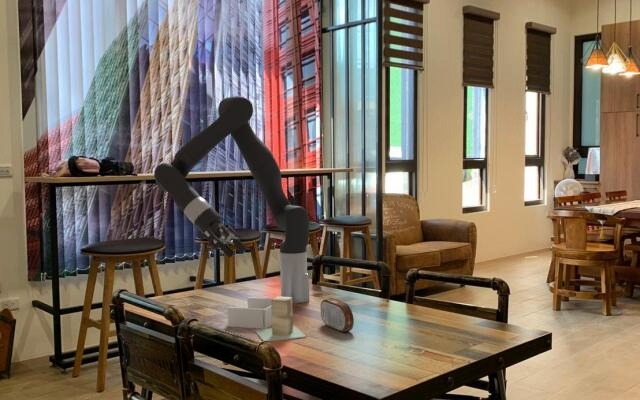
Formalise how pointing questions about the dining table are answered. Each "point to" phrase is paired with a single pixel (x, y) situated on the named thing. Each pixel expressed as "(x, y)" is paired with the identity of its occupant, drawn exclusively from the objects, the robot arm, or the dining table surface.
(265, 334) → the sage mat
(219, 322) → the dining table surface
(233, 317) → the box
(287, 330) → the maple block
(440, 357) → the dining table surface
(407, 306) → the dining table surface
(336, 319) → the tin
